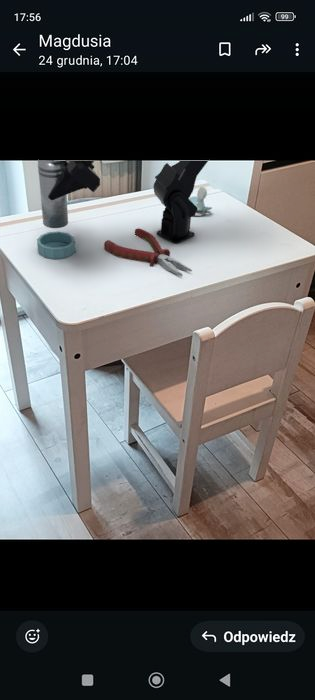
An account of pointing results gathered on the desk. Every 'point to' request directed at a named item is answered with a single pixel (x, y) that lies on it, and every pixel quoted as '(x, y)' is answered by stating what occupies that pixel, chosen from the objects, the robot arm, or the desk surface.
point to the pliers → (147, 253)
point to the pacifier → (200, 201)
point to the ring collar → (56, 245)
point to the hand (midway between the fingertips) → (46, 193)
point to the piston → (48, 177)
